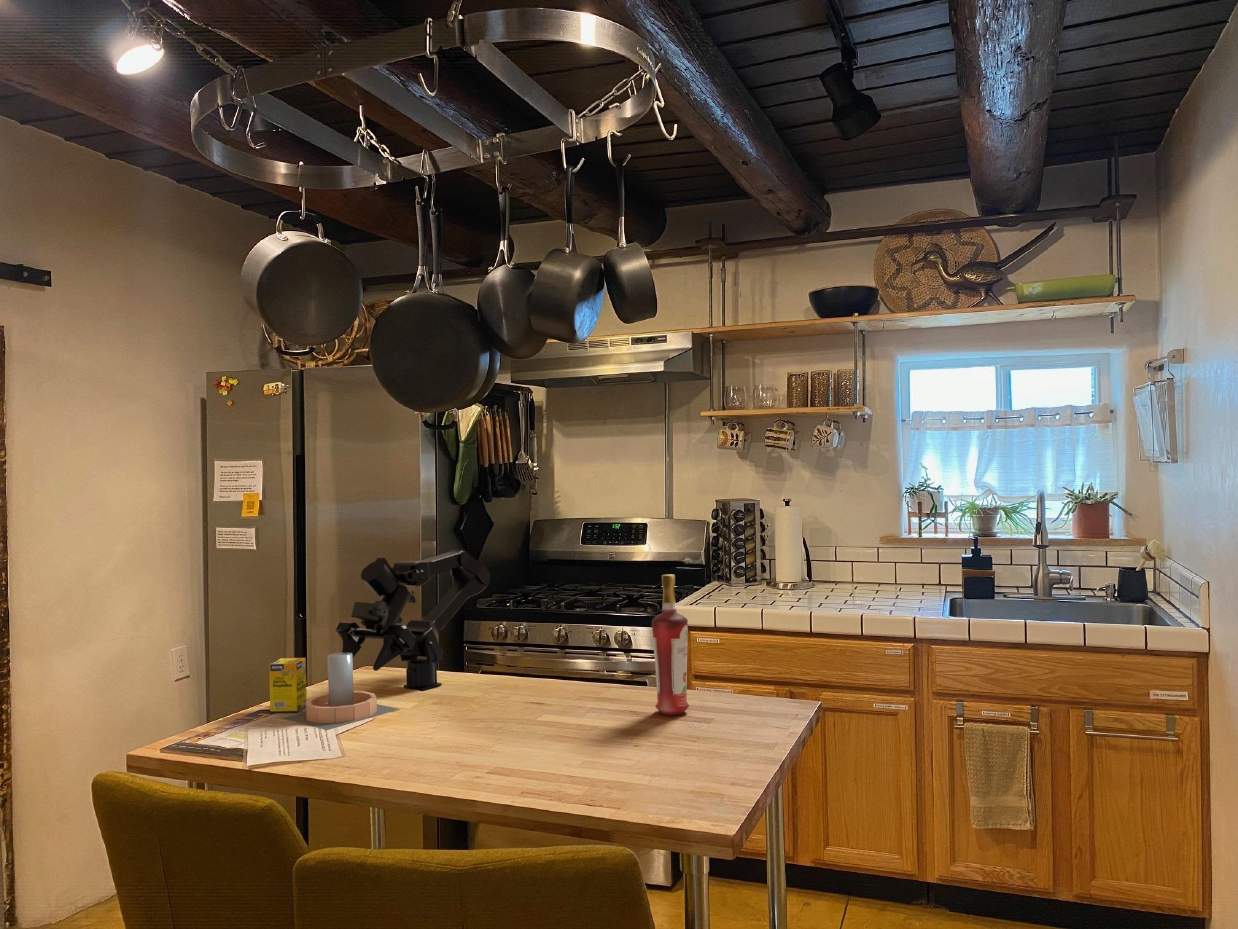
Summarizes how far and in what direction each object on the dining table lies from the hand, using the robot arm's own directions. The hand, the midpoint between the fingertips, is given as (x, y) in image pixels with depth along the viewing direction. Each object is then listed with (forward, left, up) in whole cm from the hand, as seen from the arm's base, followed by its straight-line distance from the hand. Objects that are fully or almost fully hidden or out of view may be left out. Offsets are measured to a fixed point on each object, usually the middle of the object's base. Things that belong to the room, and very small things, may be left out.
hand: (357, 668), depth 195 cm
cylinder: (+5, +1, -8) cm, 9 cm away
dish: (+5, +1, -8) cm, 10 cm away
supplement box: (+9, -12, -9) cm, 18 cm away
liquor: (-33, +59, -9) cm, 68 cm away
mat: (+5, +1, -9) cm, 10 cm away
